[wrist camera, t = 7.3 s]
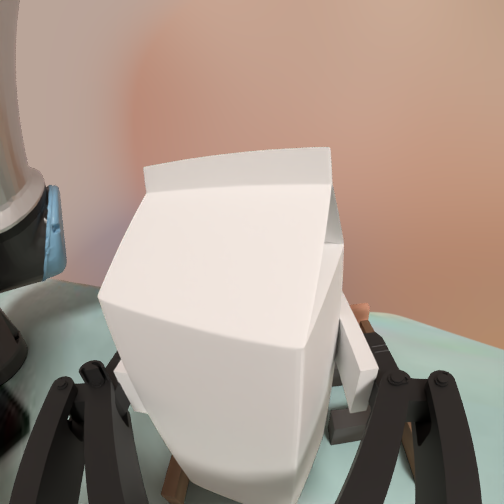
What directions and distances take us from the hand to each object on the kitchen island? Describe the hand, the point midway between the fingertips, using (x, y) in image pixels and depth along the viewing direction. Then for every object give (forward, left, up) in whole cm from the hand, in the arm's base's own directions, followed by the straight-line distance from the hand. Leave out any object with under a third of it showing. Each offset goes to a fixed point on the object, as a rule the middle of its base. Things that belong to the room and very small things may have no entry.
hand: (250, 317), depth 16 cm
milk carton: (0, -4, -10) cm, 11 cm away
